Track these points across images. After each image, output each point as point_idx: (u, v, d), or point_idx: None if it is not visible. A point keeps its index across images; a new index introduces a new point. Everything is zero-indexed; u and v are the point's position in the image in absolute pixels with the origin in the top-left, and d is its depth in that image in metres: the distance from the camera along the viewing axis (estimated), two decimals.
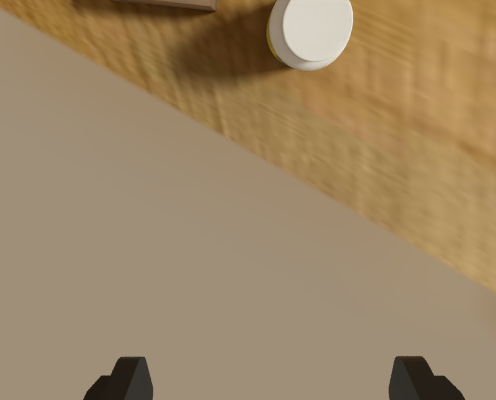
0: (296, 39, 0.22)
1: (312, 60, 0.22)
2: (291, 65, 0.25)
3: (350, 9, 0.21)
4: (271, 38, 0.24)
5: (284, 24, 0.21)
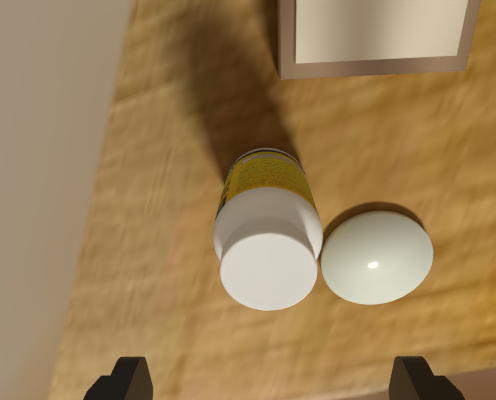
0: (244, 252, 0.15)
1: (221, 275, 0.16)
2: (215, 226, 0.18)
3: (288, 305, 0.16)
4: (245, 195, 0.17)
5: (261, 235, 0.14)
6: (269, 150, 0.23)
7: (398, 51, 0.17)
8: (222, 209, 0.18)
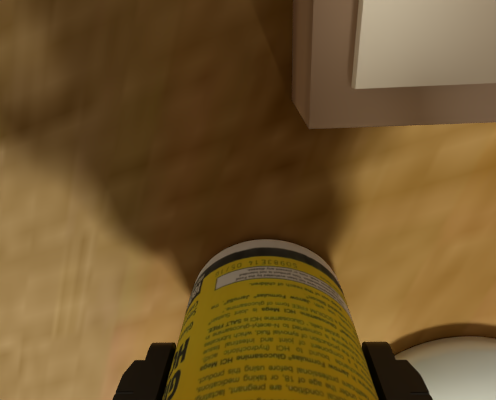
0: None
1: None
2: None
3: None
4: None
5: None
6: (273, 250, 0.11)
7: None
8: None
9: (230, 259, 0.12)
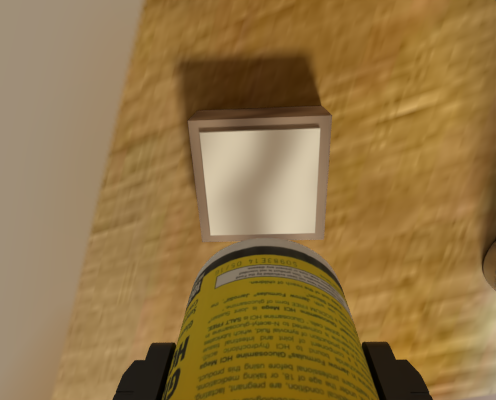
0: None
1: None
2: None
3: None
4: None
5: None
6: (273, 249, 0.11)
7: (276, 230, 0.26)
8: None
9: (230, 258, 0.11)
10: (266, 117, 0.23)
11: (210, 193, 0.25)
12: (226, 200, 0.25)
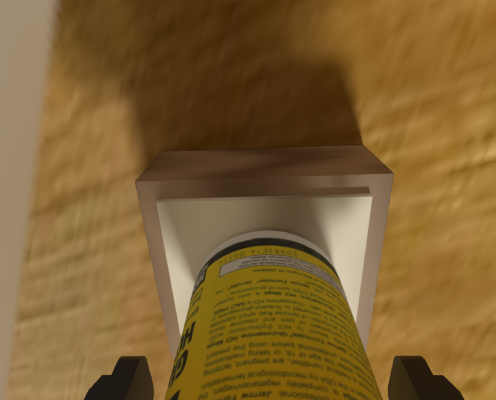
0: None
1: None
2: None
3: None
4: None
5: None
6: (274, 240, 0.12)
7: None
8: None
9: (233, 249, 0.12)
10: (275, 175, 0.13)
11: (180, 294, 0.15)
12: None
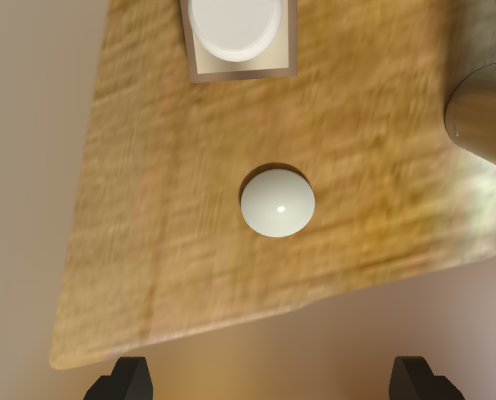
0: None
1: (192, 9, 0.18)
2: None
3: (251, 43, 0.19)
4: None
5: None
6: None
7: (255, 65, 0.30)
8: None
9: None
10: None
11: None
12: None
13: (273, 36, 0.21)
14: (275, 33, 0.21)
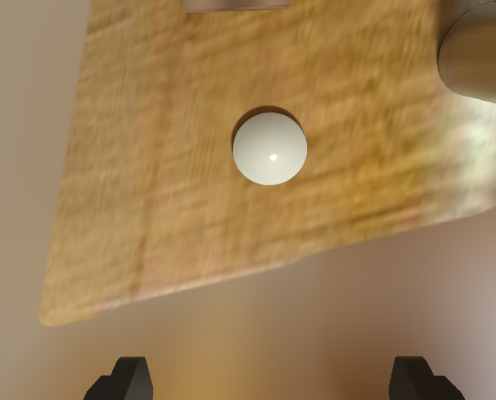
0: None
1: None
2: None
3: None
4: None
5: None
6: None
7: None
8: None
9: None
10: None
11: None
12: None
13: None
14: None
